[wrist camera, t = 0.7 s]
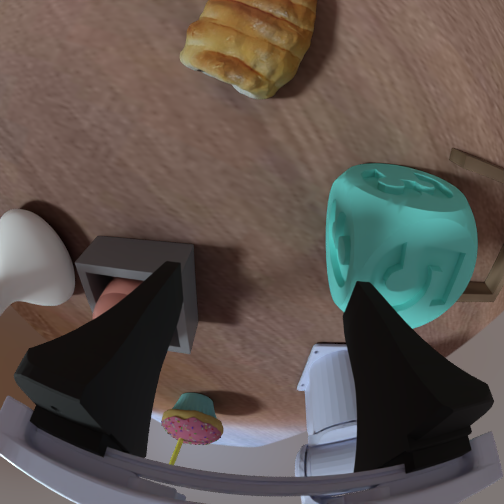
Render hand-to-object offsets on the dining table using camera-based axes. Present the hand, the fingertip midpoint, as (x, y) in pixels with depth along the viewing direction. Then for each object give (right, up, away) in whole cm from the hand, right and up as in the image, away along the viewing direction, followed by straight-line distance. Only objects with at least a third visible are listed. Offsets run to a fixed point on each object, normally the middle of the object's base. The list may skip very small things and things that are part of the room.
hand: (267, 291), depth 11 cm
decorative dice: (+9, +5, +8) cm, 13 cm away
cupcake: (-8, -19, +25) cm, 33 cm away
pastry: (-1, +15, +2) cm, 15 cm away
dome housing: (-10, -1, +13) cm, 16 cm away
